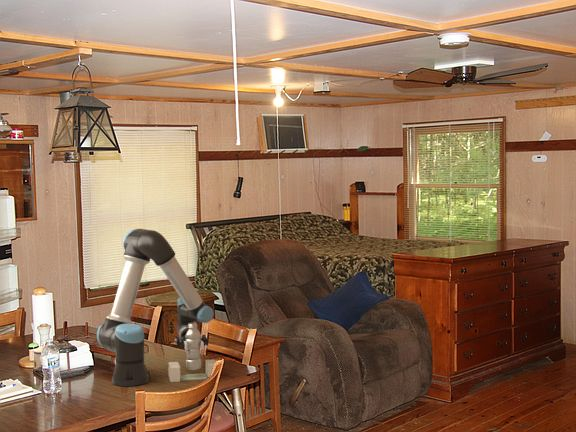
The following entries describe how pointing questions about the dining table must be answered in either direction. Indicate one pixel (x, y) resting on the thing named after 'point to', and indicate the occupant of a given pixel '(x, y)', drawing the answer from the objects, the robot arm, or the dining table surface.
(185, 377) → the gap mat
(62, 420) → the dining table surface
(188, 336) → the plastic bottle
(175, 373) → the gap blocks
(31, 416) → the dining table surface
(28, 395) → the dining table surface
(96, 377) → the dining table surface
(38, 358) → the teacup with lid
